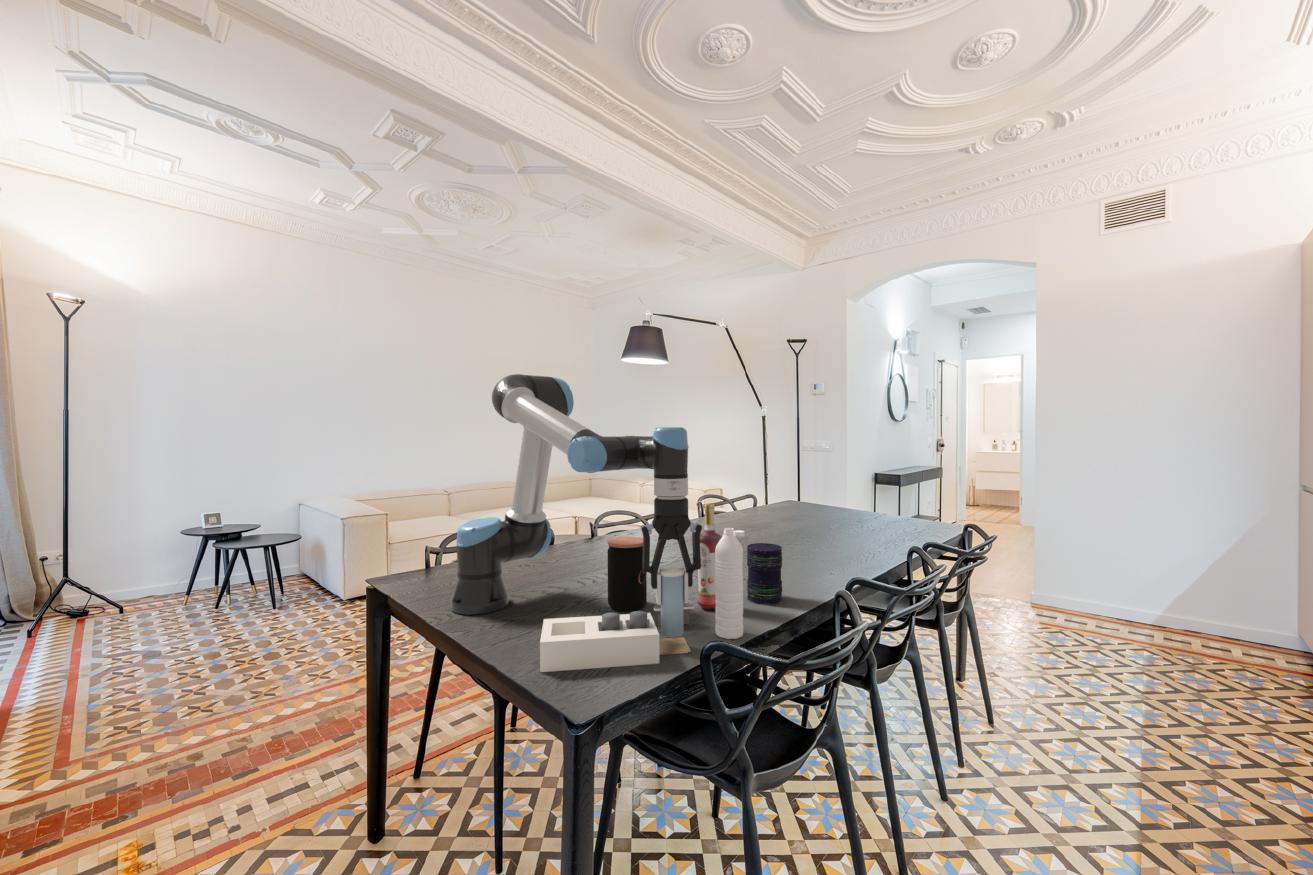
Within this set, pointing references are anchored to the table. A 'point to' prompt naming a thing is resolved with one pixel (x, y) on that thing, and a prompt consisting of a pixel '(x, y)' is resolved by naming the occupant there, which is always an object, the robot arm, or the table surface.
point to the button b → (638, 620)
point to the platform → (685, 612)
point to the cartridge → (671, 601)
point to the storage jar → (764, 573)
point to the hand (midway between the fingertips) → (671, 601)
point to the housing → (596, 644)
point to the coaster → (673, 646)
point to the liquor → (708, 561)
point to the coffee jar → (626, 574)
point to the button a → (610, 621)
